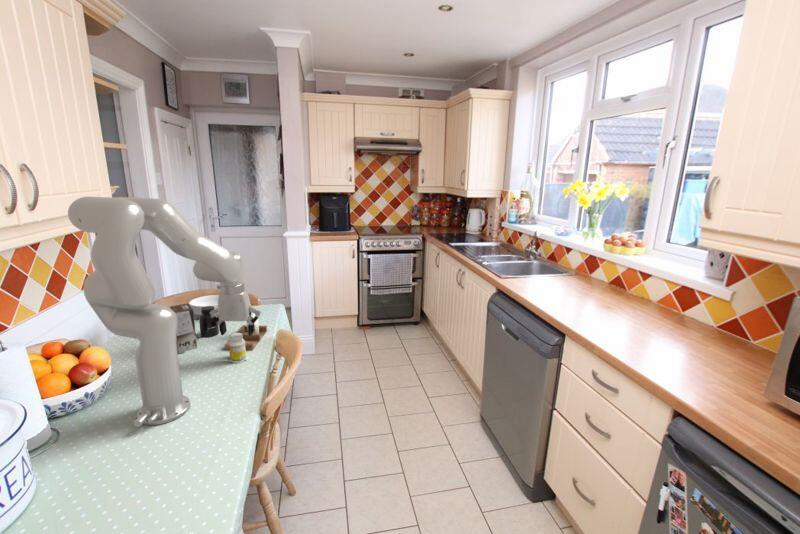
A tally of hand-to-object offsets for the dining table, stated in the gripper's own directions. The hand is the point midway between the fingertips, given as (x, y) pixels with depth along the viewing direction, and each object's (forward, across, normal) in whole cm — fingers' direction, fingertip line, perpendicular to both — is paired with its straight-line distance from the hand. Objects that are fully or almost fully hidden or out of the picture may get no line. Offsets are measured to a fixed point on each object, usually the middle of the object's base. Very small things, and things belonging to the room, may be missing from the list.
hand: (237, 333), depth 133 cm
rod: (+10, -1, +18) cm, 21 cm away
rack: (+10, -2, +14) cm, 17 cm away
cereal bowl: (+11, -29, +42) cm, 52 cm away
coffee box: (+10, -23, +8) cm, 27 cm away
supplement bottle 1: (+10, -19, +19) cm, 29 cm away
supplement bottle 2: (+10, 0, -1) cm, 10 cm away
